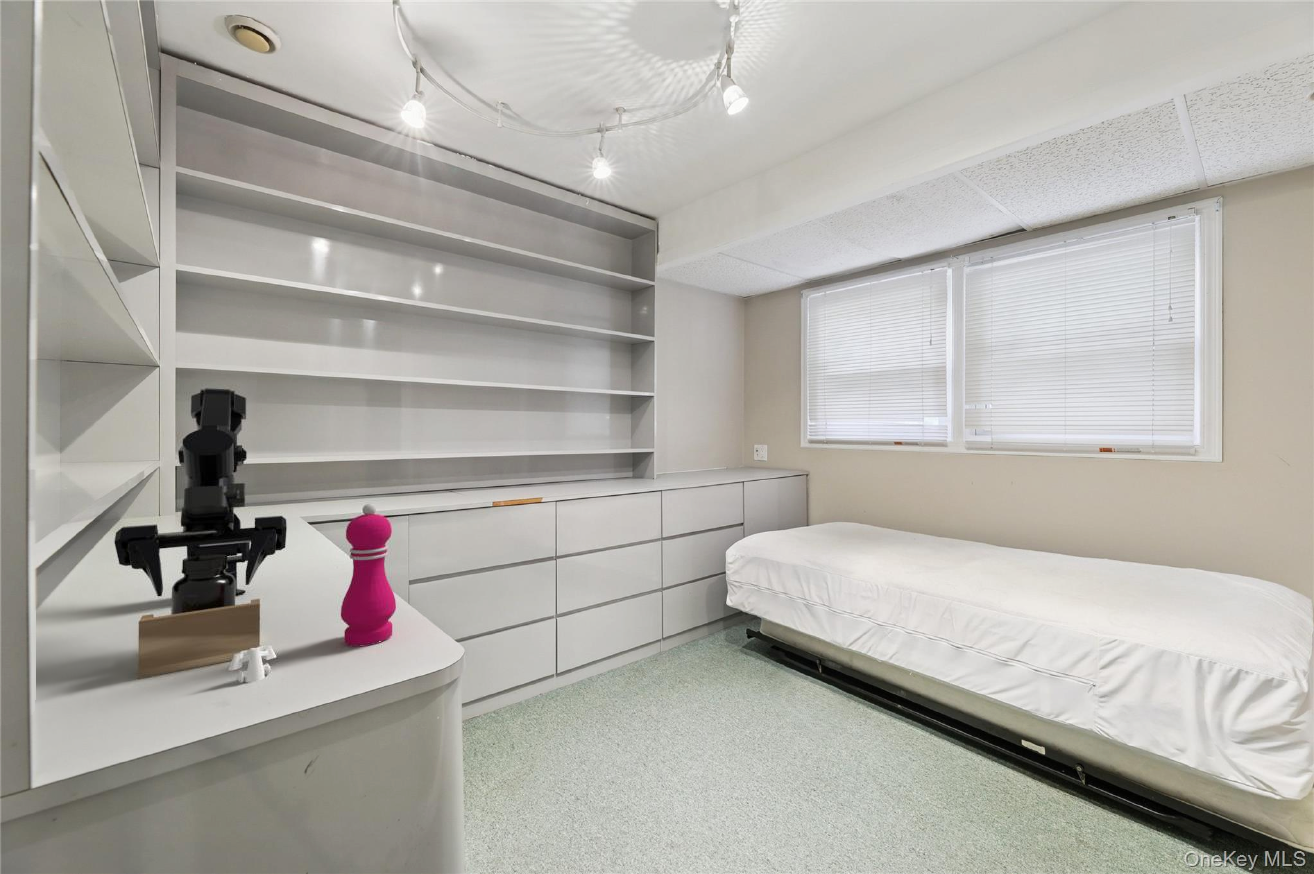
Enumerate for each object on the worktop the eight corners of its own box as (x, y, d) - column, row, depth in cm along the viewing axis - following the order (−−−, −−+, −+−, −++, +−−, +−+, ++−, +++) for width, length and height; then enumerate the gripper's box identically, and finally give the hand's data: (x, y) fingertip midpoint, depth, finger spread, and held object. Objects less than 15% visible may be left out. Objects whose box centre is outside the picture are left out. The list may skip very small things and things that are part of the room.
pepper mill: (405, 630, 82) (406, 501, 82) (376, 648, 75) (377, 506, 75) (361, 629, 83) (362, 500, 83) (328, 647, 76) (329, 506, 76)
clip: (274, 669, 68) (274, 640, 68) (281, 673, 67) (281, 643, 67) (226, 684, 64) (226, 653, 64) (232, 688, 63) (232, 656, 63)
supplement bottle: (180, 657, 69) (181, 565, 69) (163, 646, 73) (163, 558, 73) (243, 640, 75) (243, 555, 75) (224, 630, 79) (224, 549, 79)
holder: (151, 651, 74) (151, 600, 74) (258, 632, 82) (258, 586, 82) (138, 678, 66) (138, 621, 66) (259, 654, 73) (259, 603, 73)
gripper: (117, 467, 72) (98, 564, 63) (286, 463, 83) (290, 545, 74) (127, 519, 78) (111, 614, 69) (283, 509, 89) (286, 589, 80)
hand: (205, 588), depth 73 cm, fingers open, 9 cm apart
